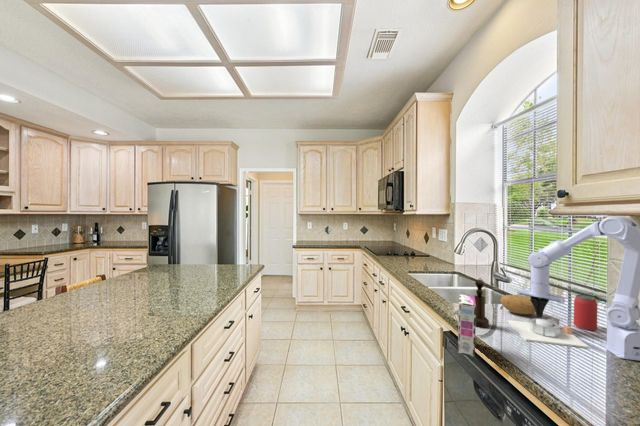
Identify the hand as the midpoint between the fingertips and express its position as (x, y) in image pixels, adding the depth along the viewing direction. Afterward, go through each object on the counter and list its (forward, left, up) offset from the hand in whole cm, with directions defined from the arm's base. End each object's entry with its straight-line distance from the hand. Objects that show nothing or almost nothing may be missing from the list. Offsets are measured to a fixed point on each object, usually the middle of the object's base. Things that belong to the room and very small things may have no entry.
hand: (539, 316), depth 107 cm
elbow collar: (-5, 0, -3) cm, 6 cm away
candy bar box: (-27, +31, -4) cm, 41 cm away
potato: (+13, +2, -4) cm, 14 cm away
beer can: (+4, -17, -4) cm, 18 cm away
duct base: (-7, +1, -4) cm, 8 cm away
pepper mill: (-5, +22, -4) cm, 23 cm away
